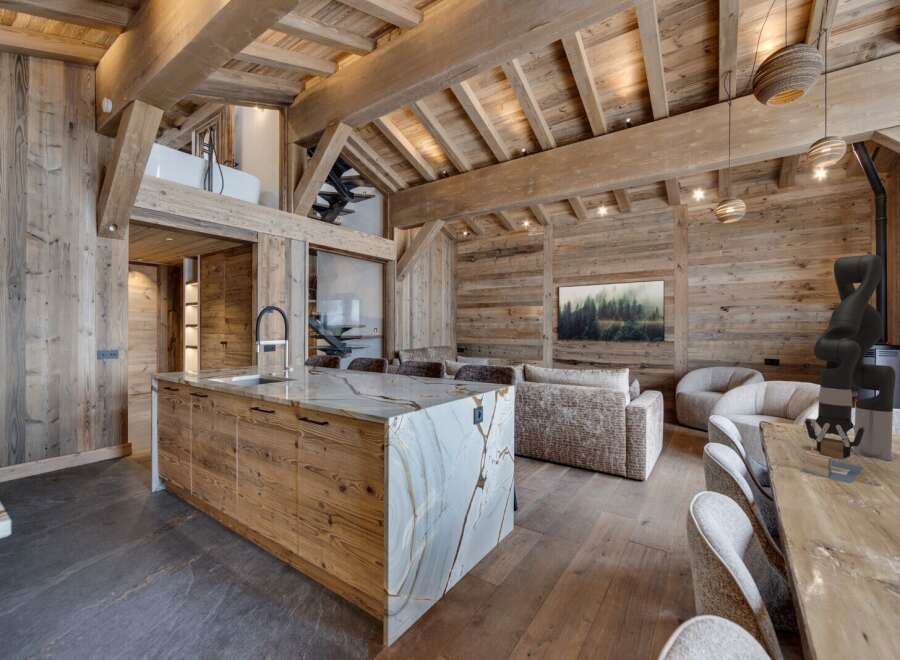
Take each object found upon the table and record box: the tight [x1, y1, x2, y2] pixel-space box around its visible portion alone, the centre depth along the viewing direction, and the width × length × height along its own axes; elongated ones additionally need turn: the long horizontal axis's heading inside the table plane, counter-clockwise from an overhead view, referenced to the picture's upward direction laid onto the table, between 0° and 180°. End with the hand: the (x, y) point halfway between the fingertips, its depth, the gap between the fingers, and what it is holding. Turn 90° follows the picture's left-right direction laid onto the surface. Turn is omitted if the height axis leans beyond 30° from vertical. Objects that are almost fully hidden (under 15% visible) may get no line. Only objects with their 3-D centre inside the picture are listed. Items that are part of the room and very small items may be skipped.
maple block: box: [805, 452, 833, 478], centre depth 122 cm, size 5×5×5 cm
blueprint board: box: [800, 460, 864, 484], centre depth 125 cm, size 23×11×1 cm, turn 127°
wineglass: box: [802, 417, 822, 451], centre depth 146 cm, size 6×6×12 cm
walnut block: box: [820, 436, 845, 461], centre depth 125 cm, size 5×5×5 cm
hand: (832, 455), depth 125 cm, fingers closed on walnut block, 5 cm apart
